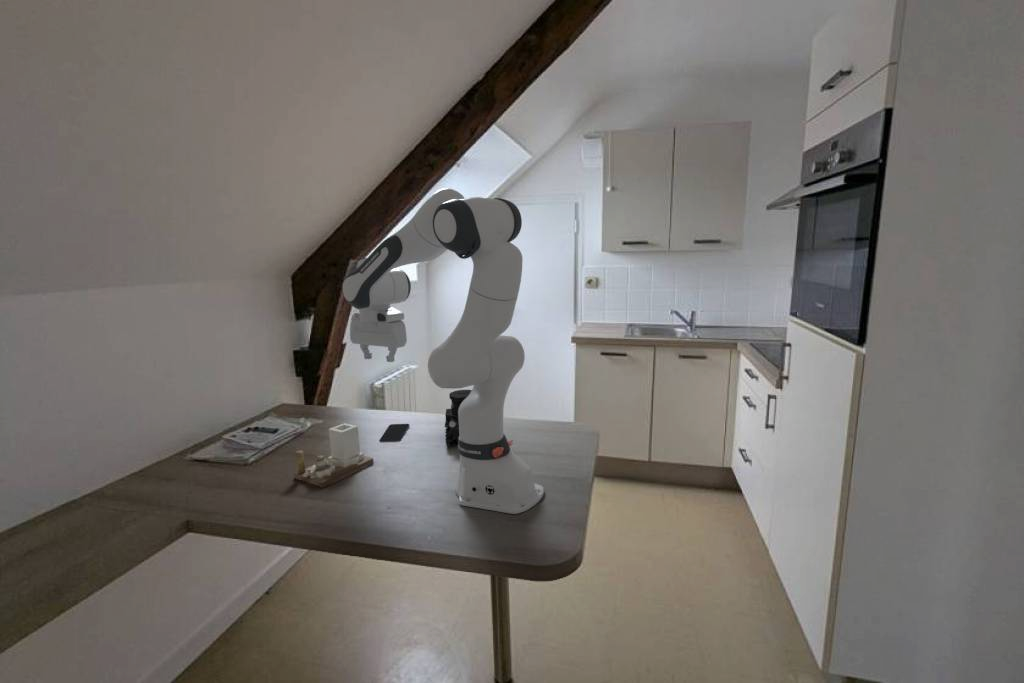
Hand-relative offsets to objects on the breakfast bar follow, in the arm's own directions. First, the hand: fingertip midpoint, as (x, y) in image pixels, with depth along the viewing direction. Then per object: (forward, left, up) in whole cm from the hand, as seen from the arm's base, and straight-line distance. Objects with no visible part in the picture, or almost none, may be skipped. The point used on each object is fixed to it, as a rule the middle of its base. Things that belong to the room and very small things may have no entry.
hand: (379, 360), depth 147 cm
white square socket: (+4, +12, -28) cm, 30 cm away
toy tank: (-14, -21, -30) cm, 39 cm away
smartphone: (+10, -13, -30) cm, 34 cm away
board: (+4, +16, -29) cm, 33 cm away
